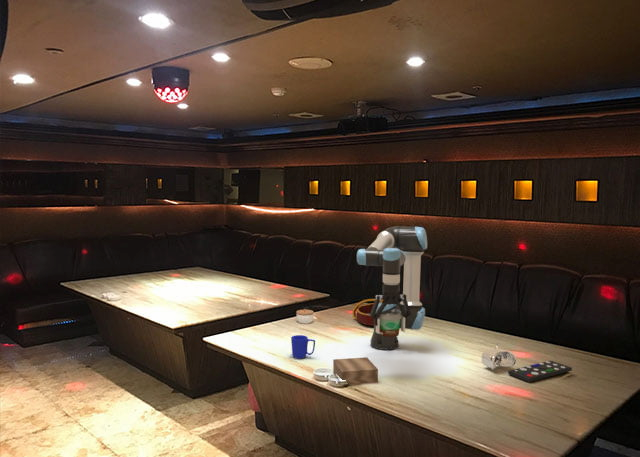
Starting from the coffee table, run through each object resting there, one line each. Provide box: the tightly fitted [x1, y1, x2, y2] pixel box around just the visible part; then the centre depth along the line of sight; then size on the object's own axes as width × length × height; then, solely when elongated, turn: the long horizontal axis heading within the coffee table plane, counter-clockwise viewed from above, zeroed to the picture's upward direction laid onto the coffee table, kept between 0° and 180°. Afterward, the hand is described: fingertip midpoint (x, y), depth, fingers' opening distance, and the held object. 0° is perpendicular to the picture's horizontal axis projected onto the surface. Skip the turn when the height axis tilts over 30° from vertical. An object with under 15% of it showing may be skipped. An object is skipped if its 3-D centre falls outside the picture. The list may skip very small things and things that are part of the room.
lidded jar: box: [296, 308, 314, 325], centre depth 312 cm, size 11×11×9 cm
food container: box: [378, 312, 402, 337], centre depth 222 cm, size 12×6×10 cm, turn 107°
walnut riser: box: [332, 356, 379, 386], centre depth 221 cm, size 16×16×6 cm
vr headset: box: [481, 342, 517, 371], centre depth 235 cm, size 14×9×11 cm, turn 113°
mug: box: [290, 334, 316, 359], centre depth 248 cm, size 8×12×10 cm
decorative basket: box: [351, 298, 383, 326], centre depth 317 cm, size 34×29×15 cm
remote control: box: [507, 360, 573, 383], centre depth 231 cm, size 11×30×2 cm, turn 120°
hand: (390, 332), depth 222 cm, fingers closed on food container, 11 cm apart
